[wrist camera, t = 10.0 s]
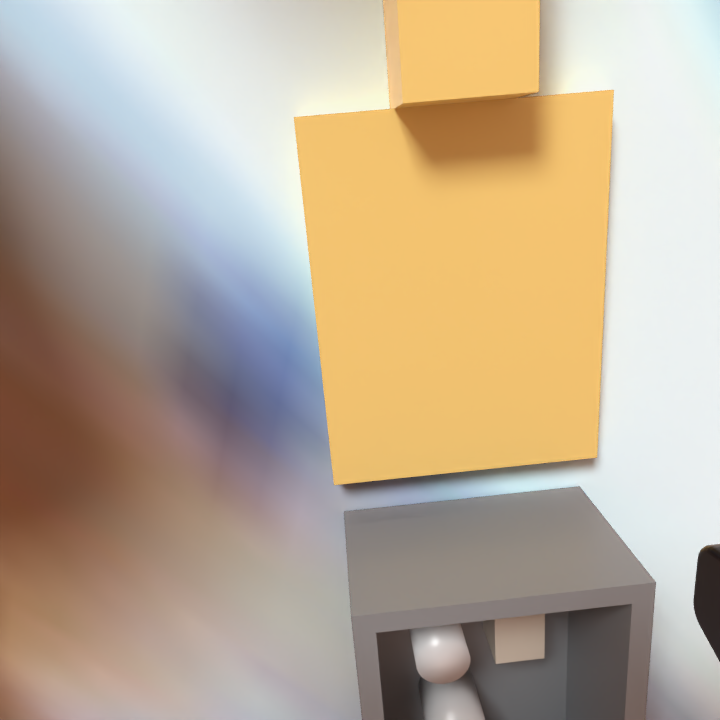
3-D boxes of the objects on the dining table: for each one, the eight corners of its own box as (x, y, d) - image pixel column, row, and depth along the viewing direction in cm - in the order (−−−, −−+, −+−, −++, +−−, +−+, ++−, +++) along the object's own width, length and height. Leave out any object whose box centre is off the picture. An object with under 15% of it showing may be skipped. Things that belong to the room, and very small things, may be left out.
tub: (572, 713, 24) (634, 850, 19) (367, 738, 24) (379, 882, 19) (579, 486, 21) (655, 582, 16) (343, 511, 21) (351, 616, 16)
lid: (584, 443, 21) (623, 486, 18) (333, 469, 20) (335, 517, 18) (605, -122, 16) (664, -179, 13) (271, -97, 15) (262, -150, 13)
